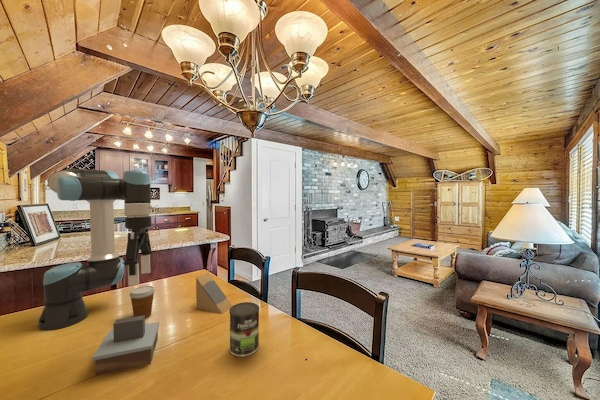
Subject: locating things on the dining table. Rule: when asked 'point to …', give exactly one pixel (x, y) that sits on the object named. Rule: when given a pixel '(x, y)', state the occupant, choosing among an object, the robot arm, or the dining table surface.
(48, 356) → the dining table surface
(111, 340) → the lid
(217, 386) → the dining table surface
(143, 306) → the disposable coffee cup
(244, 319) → the coffee can
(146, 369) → the dining table surface
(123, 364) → the box
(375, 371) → the dining table surface
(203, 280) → the sandwich container
